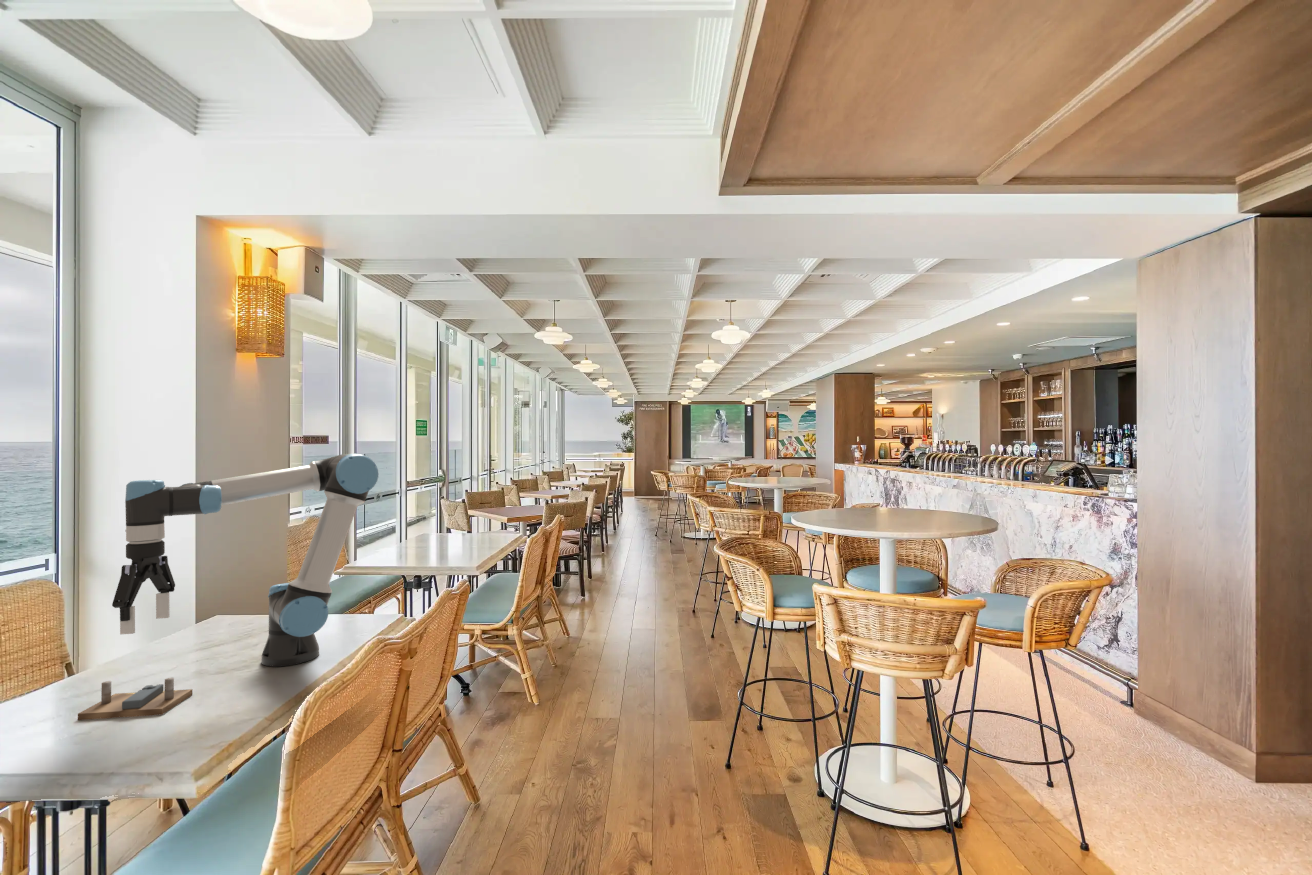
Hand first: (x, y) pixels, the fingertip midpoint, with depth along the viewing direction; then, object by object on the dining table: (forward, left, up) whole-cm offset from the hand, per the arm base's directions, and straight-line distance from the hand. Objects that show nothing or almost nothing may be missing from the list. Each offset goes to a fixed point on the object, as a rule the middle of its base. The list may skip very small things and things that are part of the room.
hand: (146, 625), depth 153 cm
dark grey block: (-1, +2, -18) cm, 18 cm away
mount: (0, +2, -20) cm, 20 cm away
